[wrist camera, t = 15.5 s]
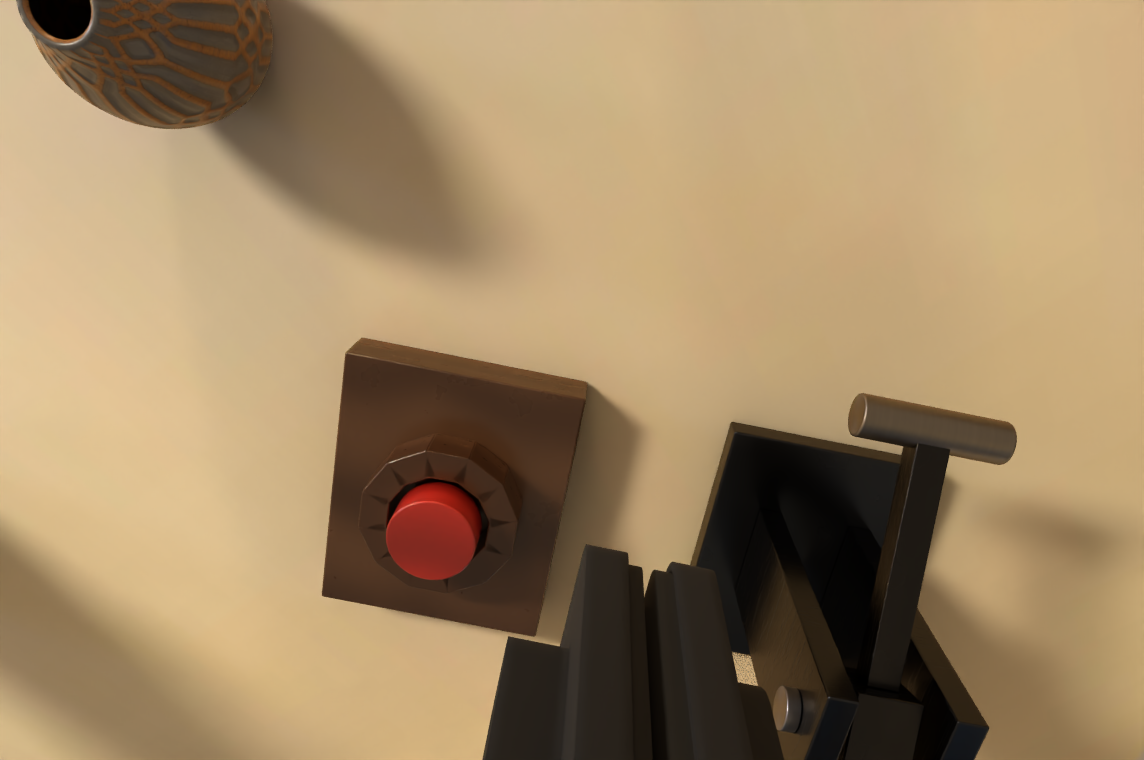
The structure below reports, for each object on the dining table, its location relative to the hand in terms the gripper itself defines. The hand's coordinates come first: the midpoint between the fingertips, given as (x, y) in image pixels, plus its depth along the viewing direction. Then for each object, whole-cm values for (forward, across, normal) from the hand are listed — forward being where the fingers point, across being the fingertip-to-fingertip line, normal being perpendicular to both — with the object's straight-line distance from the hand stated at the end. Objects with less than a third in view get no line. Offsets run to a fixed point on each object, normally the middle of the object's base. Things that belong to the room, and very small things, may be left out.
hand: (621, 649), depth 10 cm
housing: (+23, +5, +12) cm, 27 cm away
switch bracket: (+23, -11, +11) cm, 28 cm away
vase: (+24, +17, -5) cm, 30 cm away
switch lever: (+15, -11, +7) cm, 20 cm away
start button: (+20, +5, +12) cm, 23 cm away
